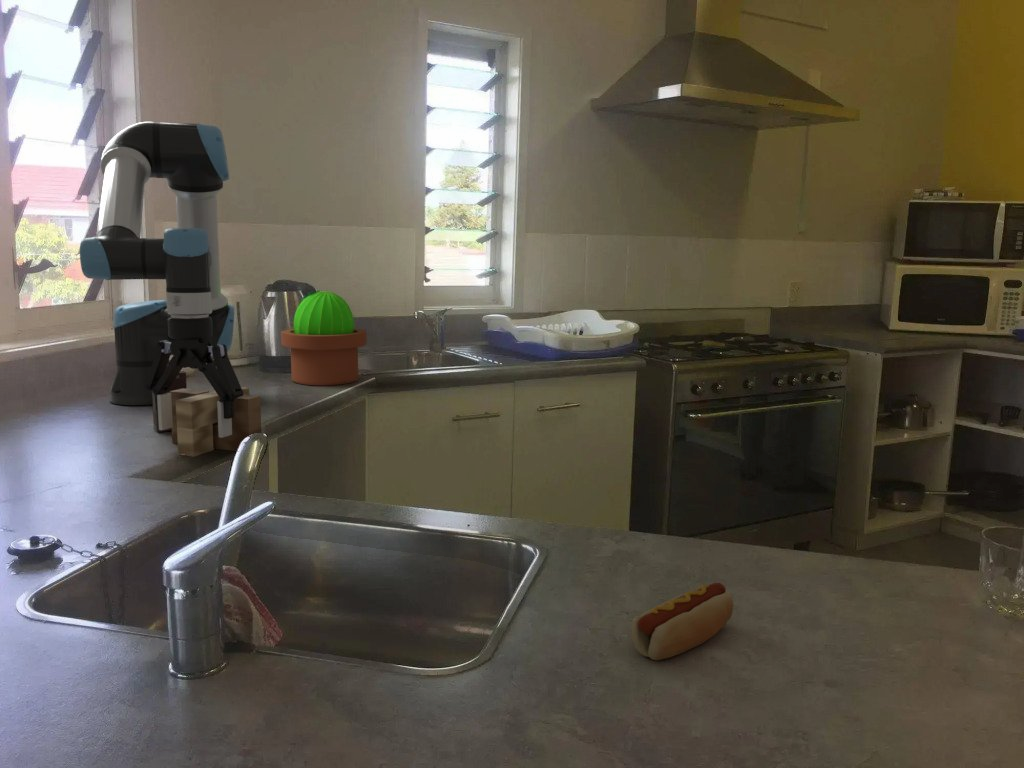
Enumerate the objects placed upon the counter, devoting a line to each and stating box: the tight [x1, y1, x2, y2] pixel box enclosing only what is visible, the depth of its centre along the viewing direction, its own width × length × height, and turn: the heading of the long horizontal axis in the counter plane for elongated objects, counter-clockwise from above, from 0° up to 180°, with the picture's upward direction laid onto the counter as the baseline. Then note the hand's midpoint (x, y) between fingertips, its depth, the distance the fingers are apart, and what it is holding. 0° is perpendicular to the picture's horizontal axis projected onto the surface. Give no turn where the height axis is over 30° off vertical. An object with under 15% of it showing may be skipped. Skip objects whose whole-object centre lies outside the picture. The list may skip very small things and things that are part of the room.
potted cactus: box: [280, 289, 368, 387], centre depth 238 cm, size 22×22×25 cm
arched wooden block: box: [176, 386, 250, 458], centre depth 165 cm, size 16×4×10 cm, turn 158°
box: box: [152, 368, 188, 433], centre depth 178 cm, size 6×4×12 cm
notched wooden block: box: [170, 388, 262, 452], centre depth 165 cm, size 18×4×10 cm, turn 68°
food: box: [629, 582, 734, 661], centre depth 89 cm, size 14×6×5 cm, turn 135°
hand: (195, 432), depth 160 cm, fingers open, 13 cm apart
